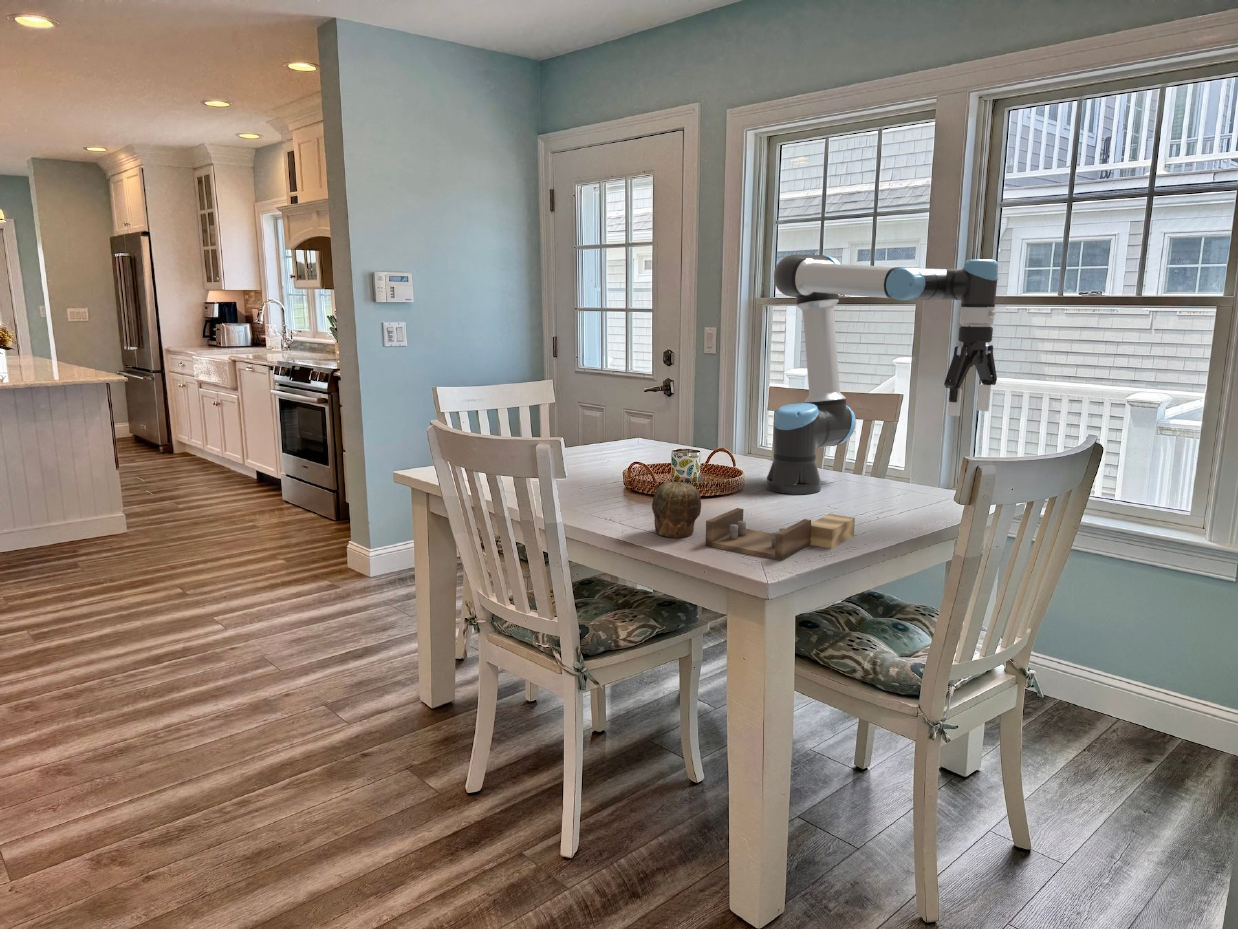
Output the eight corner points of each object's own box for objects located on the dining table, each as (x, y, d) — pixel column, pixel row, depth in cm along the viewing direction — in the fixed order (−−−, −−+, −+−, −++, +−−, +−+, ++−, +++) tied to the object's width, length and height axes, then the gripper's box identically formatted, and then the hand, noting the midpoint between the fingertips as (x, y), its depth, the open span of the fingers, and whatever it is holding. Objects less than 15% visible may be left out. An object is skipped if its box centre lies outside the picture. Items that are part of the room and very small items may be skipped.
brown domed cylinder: (665, 543, 182) (666, 489, 179) (644, 530, 192) (644, 479, 189) (709, 537, 186) (710, 485, 184) (686, 525, 196) (686, 475, 194)
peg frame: (705, 545, 180) (706, 521, 179) (736, 531, 191) (737, 507, 190) (782, 560, 169) (783, 534, 168) (810, 544, 180) (811, 520, 179)
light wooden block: (831, 549, 178) (832, 529, 177) (805, 544, 181) (806, 525, 180) (853, 537, 187) (854, 517, 186) (828, 532, 191) (829, 513, 190)
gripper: (963, 327, 189) (955, 419, 194) (1017, 324, 205) (1008, 410, 209) (933, 326, 195) (926, 415, 199) (987, 323, 210) (980, 407, 215)
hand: (968, 413), depth 204 cm, fingers open, 13 cm apart
